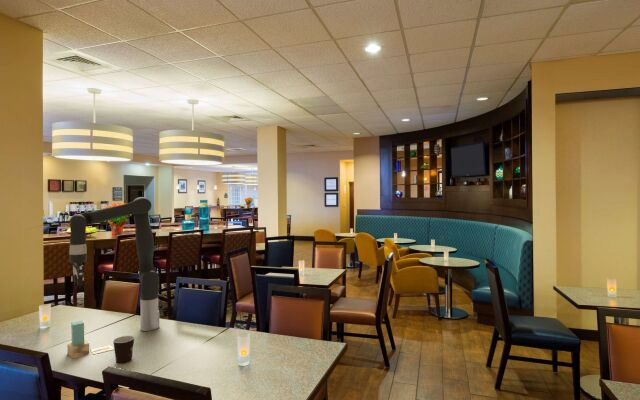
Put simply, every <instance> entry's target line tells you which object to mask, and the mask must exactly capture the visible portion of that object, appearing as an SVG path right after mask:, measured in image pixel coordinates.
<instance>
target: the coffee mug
mask: <svg viewBox="0 0 640 400" xmlns="http://www.w3.org/2000/svg"><path fill="white" fill-rule="evenodd" d="M112 342H113V348H114V350H113V351H114V356H115V357H114V358H115V363H116V364H118V365H124V364H127V363H128V364H129V363H130V362H131V361H133V352H134V344H135V336H133V335H123V336H118V337H116V338H114V339H113V340H112Z"/></svg>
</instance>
